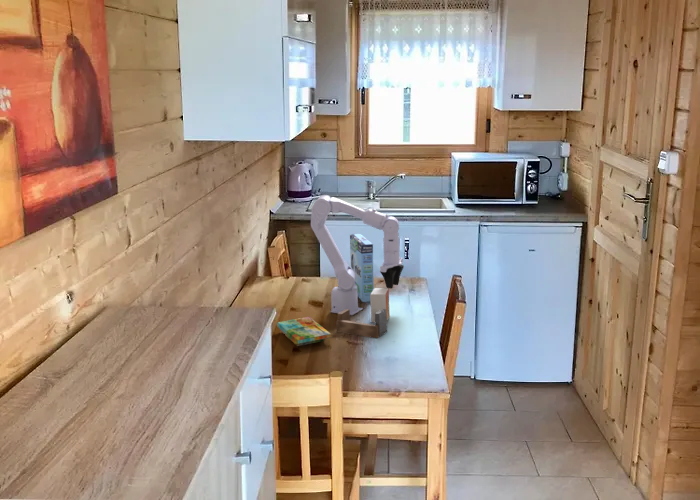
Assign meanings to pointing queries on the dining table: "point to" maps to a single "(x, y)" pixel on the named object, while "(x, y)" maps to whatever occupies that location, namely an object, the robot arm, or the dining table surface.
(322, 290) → the dining table surface
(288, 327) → the puzzle game
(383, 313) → the bookend
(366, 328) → the walnut shelf corner
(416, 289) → the dining table surface
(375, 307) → the small box
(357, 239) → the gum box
